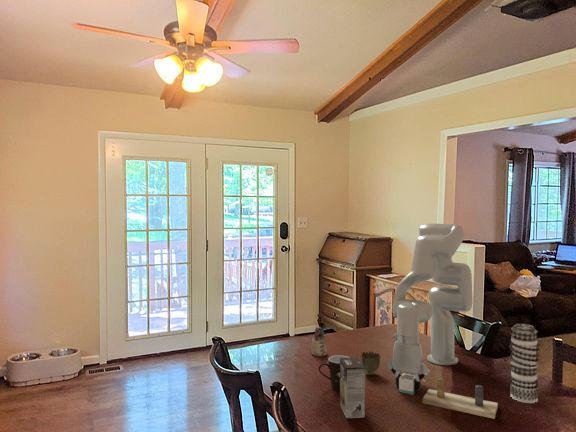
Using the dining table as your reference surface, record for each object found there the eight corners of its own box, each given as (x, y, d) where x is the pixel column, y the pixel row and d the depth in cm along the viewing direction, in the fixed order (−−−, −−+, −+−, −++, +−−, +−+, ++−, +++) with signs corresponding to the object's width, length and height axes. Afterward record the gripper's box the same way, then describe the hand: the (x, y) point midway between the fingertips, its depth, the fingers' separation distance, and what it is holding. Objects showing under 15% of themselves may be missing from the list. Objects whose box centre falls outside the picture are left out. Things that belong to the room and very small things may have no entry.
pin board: (429, 393, 155) (429, 372, 155) (497, 407, 144) (497, 384, 144) (422, 403, 148) (422, 380, 147) (494, 418, 136) (494, 394, 136)
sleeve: (403, 386, 161) (403, 373, 161) (417, 389, 158) (417, 375, 158) (398, 391, 157) (398, 377, 157) (413, 394, 154) (413, 380, 154)
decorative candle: (538, 406, 145) (539, 330, 144) (507, 399, 150) (507, 326, 149) (540, 396, 152) (540, 324, 152) (510, 390, 157) (510, 320, 157)
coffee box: (339, 405, 146) (339, 357, 146) (358, 404, 147) (358, 356, 146) (345, 418, 137) (345, 367, 137) (365, 417, 138) (365, 366, 137)
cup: (380, 378, 169) (380, 357, 169) (360, 377, 170) (360, 356, 170) (380, 371, 176) (380, 351, 176) (361, 370, 178) (361, 350, 177)
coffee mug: (354, 383, 164) (354, 356, 164) (349, 392, 156) (349, 364, 156) (323, 379, 168) (323, 353, 168) (318, 388, 160) (317, 361, 160)
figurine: (329, 352, 200) (329, 326, 199) (322, 357, 194) (322, 330, 193) (315, 349, 203) (315, 324, 203) (308, 354, 197) (308, 327, 197)
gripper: (381, 338, 158) (381, 388, 159) (429, 345, 150) (430, 398, 150) (387, 333, 165) (388, 380, 165) (435, 339, 156) (435, 390, 156)
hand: (408, 388), depth 158 cm, fingers open, 5 cm apart
